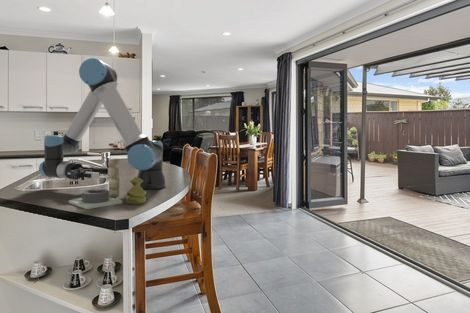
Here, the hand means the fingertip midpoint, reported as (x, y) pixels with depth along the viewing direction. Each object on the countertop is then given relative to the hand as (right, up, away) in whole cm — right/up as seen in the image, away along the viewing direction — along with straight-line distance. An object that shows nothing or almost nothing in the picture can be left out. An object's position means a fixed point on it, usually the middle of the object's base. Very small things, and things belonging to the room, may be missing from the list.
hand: (110, 174), depth 136 cm
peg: (+1, -9, +1) cm, 10 cm away
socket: (0, -10, -13) cm, 17 cm away
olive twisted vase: (+14, -11, -10) cm, 21 cm away
